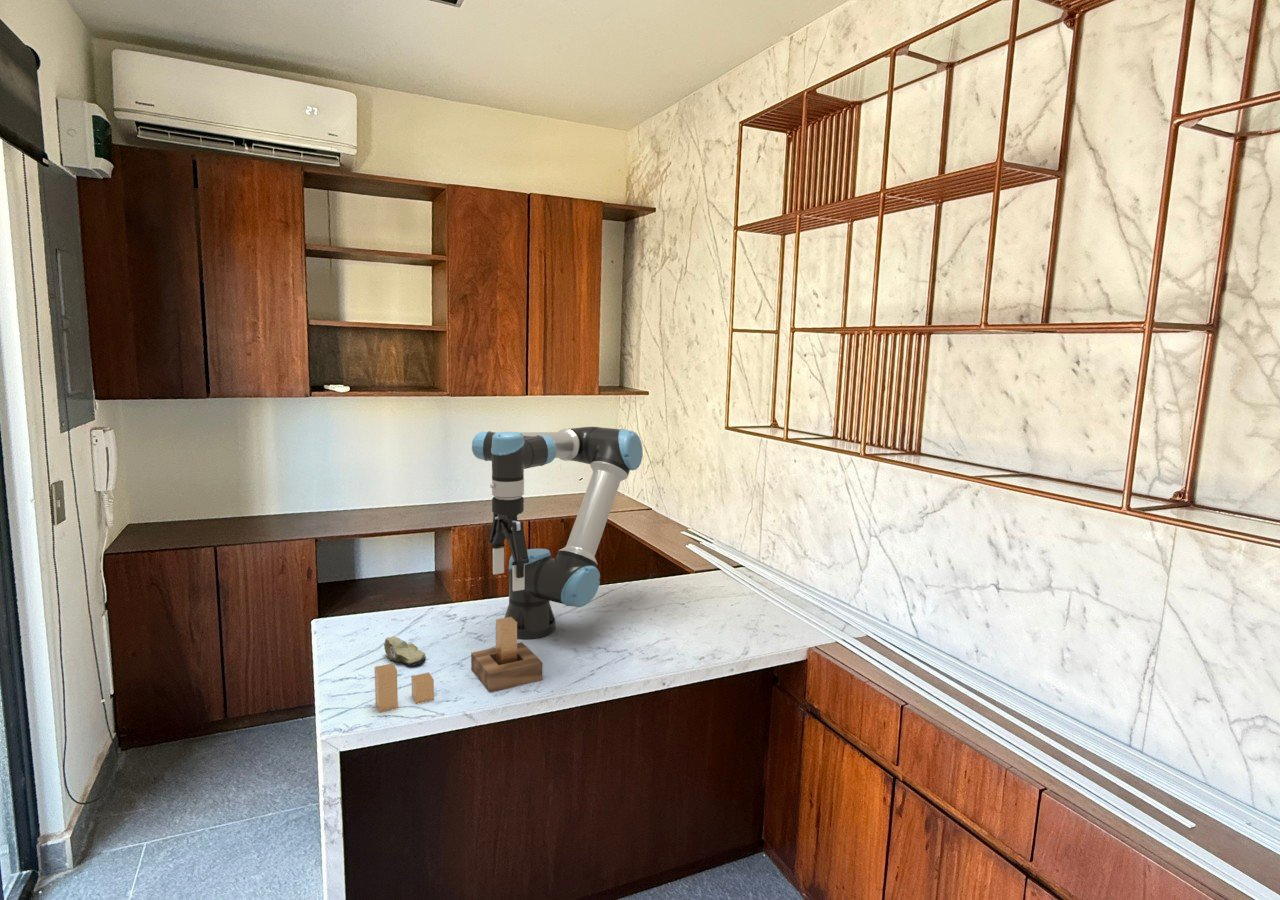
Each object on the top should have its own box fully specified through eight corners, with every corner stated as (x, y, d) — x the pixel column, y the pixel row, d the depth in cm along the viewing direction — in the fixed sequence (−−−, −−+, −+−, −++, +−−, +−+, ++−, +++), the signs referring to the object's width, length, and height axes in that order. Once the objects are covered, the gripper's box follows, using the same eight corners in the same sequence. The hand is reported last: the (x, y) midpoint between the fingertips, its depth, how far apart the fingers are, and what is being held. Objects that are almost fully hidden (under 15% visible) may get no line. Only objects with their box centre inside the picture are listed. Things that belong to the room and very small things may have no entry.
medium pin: (375, 704, 156) (374, 666, 155) (393, 700, 158) (393, 663, 157) (379, 712, 153) (378, 674, 152) (397, 708, 155) (397, 670, 154)
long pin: (495, 673, 173) (495, 619, 171) (511, 669, 175) (511, 616, 173) (501, 679, 170) (501, 625, 168) (516, 676, 172) (517, 622, 170)
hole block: (471, 669, 175) (471, 652, 174) (521, 658, 182) (521, 642, 181) (489, 692, 163) (489, 674, 163) (542, 679, 170) (542, 662, 170)
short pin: (411, 696, 160) (411, 676, 160) (429, 692, 163) (428, 672, 162) (416, 704, 157) (415, 683, 156) (433, 699, 159) (433, 679, 158)
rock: (424, 671, 176) (428, 649, 185) (423, 649, 174) (426, 628, 183) (380, 675, 173) (385, 652, 183) (378, 653, 171) (384, 631, 181)
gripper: (475, 488, 175) (476, 569, 178) (512, 509, 154) (512, 600, 157) (504, 485, 179) (504, 564, 182) (543, 505, 158) (542, 594, 161)
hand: (508, 581), depth 170 cm, fingers open, 13 cm apart
